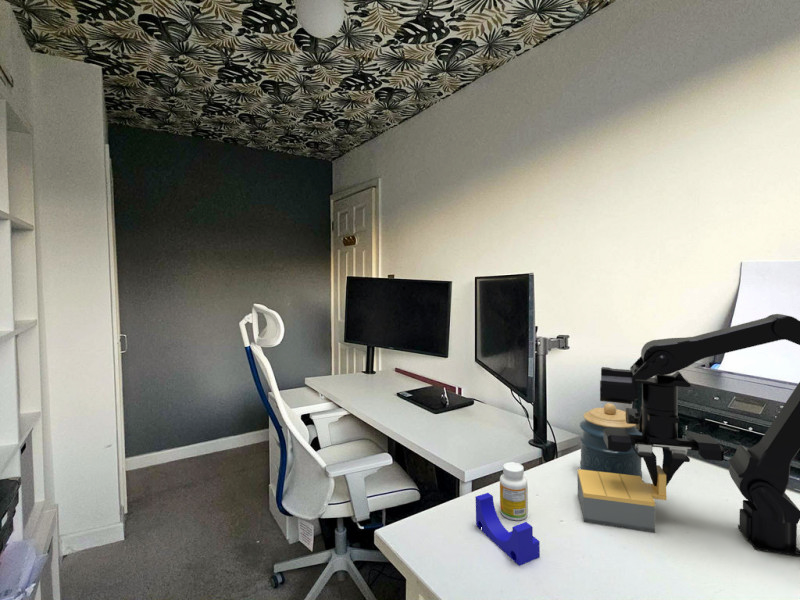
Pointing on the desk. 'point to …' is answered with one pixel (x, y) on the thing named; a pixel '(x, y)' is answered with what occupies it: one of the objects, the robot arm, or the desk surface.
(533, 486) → the desk surface
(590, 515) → the parts tub
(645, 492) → the snap lid
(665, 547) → the desk surface
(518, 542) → the blue semicircular mounting bracket
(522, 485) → the supplement bottle
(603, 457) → the canister
